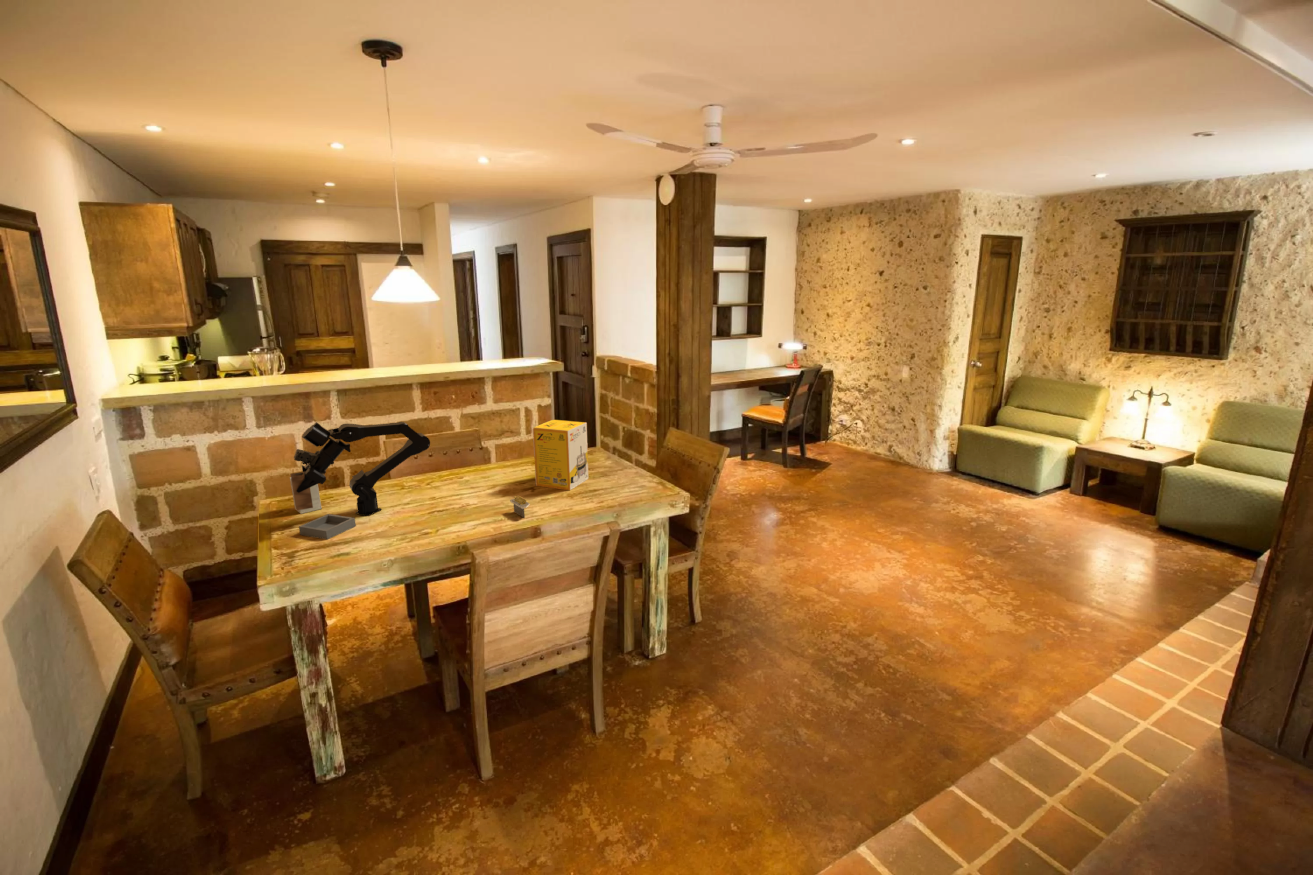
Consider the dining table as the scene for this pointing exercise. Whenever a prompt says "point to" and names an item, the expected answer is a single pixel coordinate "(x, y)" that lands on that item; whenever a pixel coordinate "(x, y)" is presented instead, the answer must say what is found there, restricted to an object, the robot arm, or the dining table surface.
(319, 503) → the supplement box
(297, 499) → the block
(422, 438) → the robot arm
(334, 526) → the tray
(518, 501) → the platform
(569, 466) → the packaging box
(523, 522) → the dining table surface
